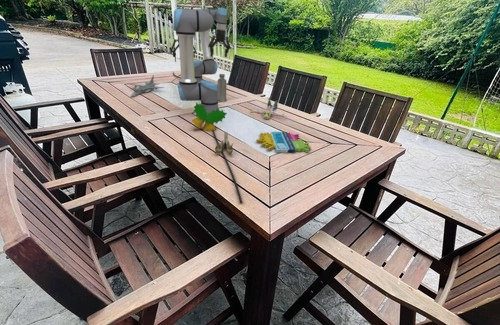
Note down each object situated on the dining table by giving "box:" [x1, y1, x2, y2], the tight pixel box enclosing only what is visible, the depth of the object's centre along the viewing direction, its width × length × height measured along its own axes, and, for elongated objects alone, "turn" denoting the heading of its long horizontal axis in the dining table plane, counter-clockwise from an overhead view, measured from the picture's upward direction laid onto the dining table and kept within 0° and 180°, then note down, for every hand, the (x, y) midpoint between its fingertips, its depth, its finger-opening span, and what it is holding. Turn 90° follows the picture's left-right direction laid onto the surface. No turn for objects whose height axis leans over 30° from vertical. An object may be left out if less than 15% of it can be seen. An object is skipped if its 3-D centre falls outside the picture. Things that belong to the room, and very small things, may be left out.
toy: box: [249, 99, 287, 120], centre depth 196 cm, size 28×7×30 cm
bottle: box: [216, 77, 227, 103], centre depth 215 cm, size 7×7×21 cm
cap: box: [218, 73, 226, 79], centre depth 210 cm, size 4×4×2 cm
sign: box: [256, 131, 312, 154], centre depth 152 cm, size 26×2×30 cm
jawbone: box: [214, 131, 234, 156], centre depth 136 cm, size 9×15×10 cm
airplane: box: [129, 74, 165, 98], centre depth 227 cm, size 38×31×10 cm
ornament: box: [191, 101, 228, 132], centre depth 162 cm, size 21×8×15 cm, turn 105°
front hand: (184, 61), depth 211 cm, fingers open, 13 cm apart
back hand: (218, 56), depth 226 cm, fingers open, 13 cm apart
